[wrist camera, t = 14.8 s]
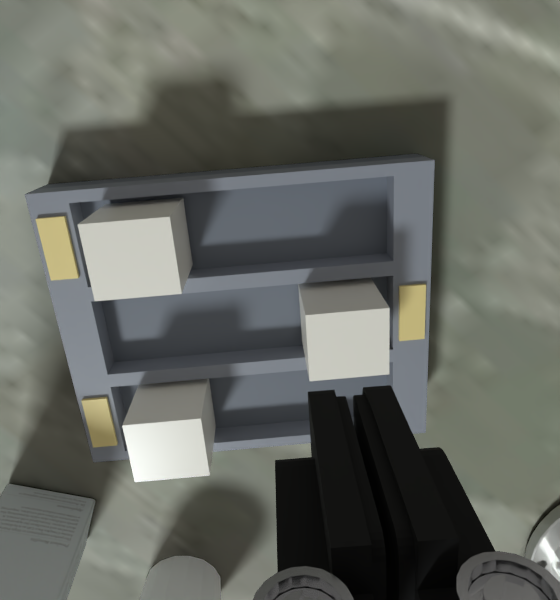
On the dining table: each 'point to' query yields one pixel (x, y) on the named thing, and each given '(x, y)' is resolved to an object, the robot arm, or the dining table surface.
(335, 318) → the tab middle
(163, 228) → the white cube
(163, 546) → the dining table surface
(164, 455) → the tab inner
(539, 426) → the dining table surface
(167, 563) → the grey cylinder
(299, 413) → the switch bank
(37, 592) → the skincare box
